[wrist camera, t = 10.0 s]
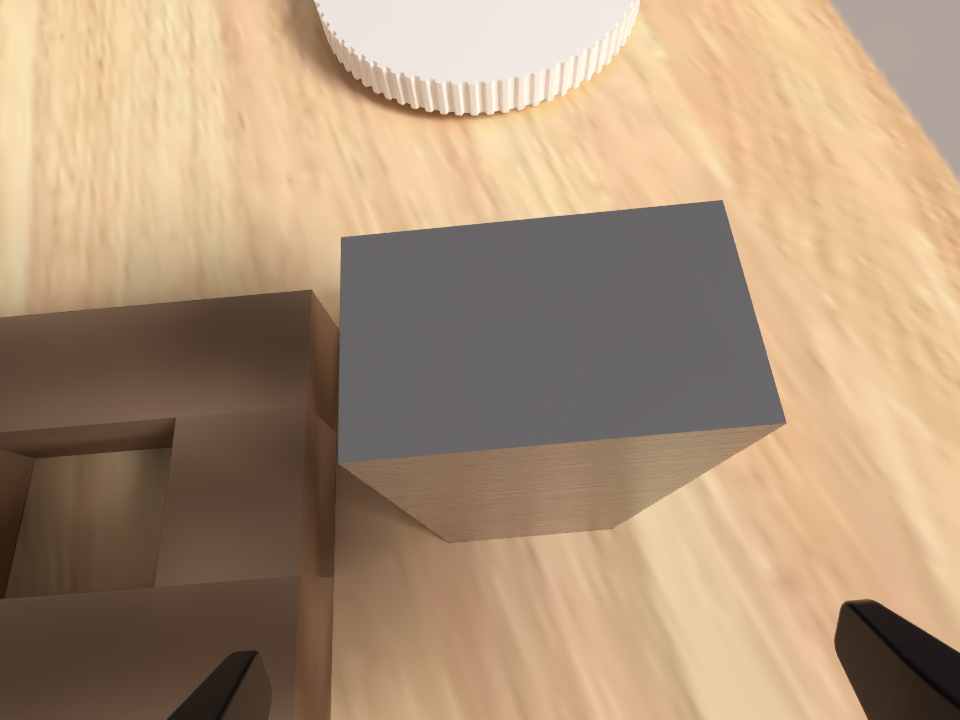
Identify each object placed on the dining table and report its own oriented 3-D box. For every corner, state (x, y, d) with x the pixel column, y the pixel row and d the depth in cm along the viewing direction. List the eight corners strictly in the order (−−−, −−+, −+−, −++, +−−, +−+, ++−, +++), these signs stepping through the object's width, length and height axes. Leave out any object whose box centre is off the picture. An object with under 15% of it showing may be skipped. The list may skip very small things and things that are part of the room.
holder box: (329, 721, 16) (291, 749, 13) (-159, 757, 16) (-297, 791, 14) (338, 330, 20) (311, 290, 18) (-45, 364, 21) (-131, 329, 18)
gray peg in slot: (612, 528, 17) (787, 422, 6) (448, 542, 18) (338, 463, 6) (597, 432, 19) (722, 199, 7) (443, 446, 19) (341, 237, 8)
